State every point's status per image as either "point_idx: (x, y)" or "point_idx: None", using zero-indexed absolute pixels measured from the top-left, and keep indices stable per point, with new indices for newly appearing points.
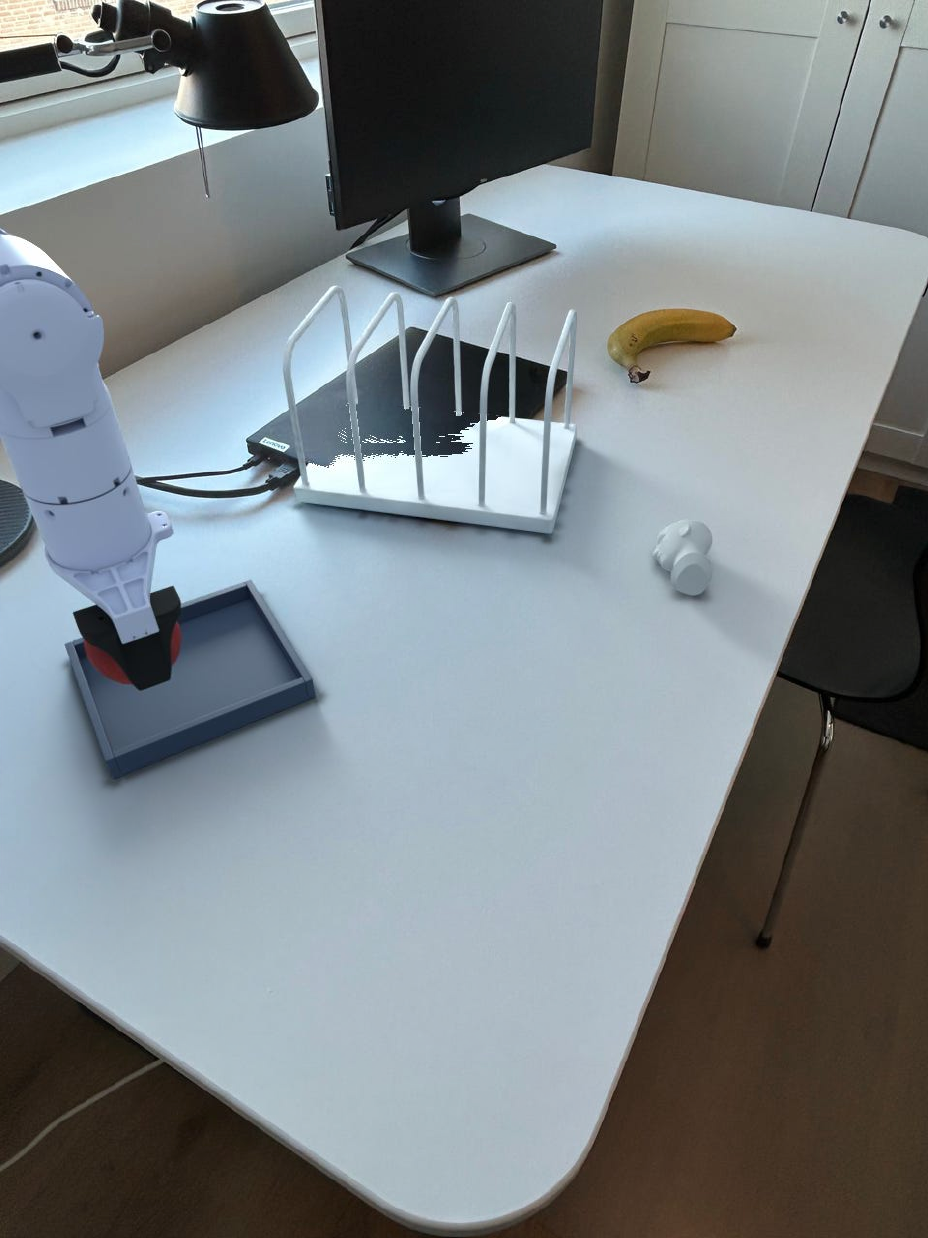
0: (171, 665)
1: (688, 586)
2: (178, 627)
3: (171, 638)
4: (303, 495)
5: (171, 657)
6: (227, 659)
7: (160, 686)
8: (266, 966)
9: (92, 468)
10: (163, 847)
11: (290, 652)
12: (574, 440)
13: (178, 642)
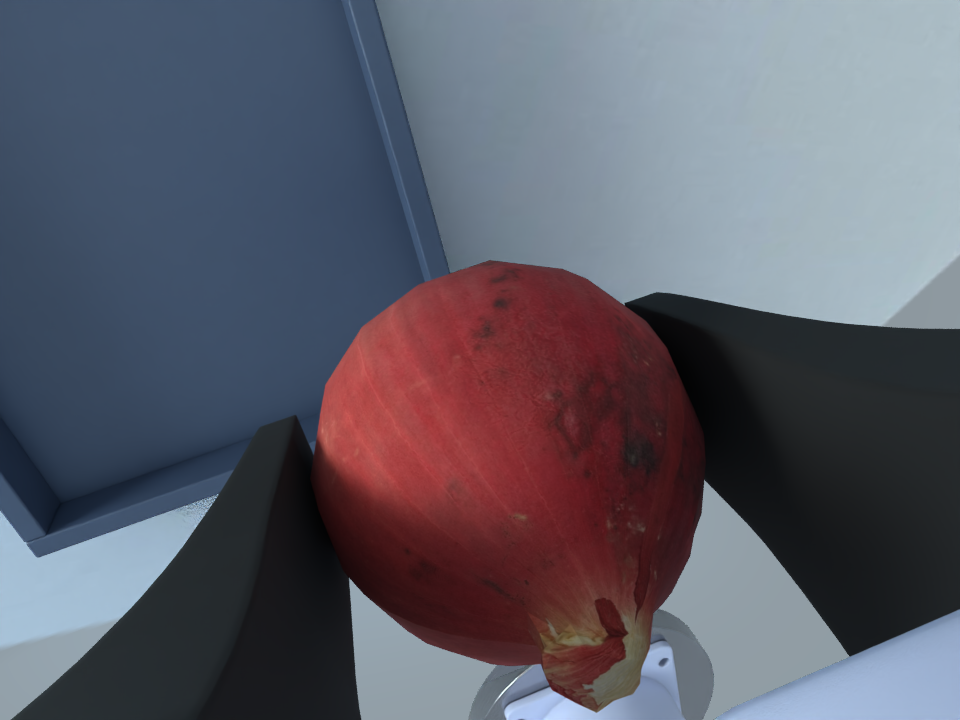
0: (696, 298)
1: None
2: (527, 283)
3: (865, 326)
4: None
5: (728, 305)
6: (93, 90)
7: (200, 293)
8: (952, 77)
9: None
10: (660, 262)
11: None
12: None
13: (579, 277)
